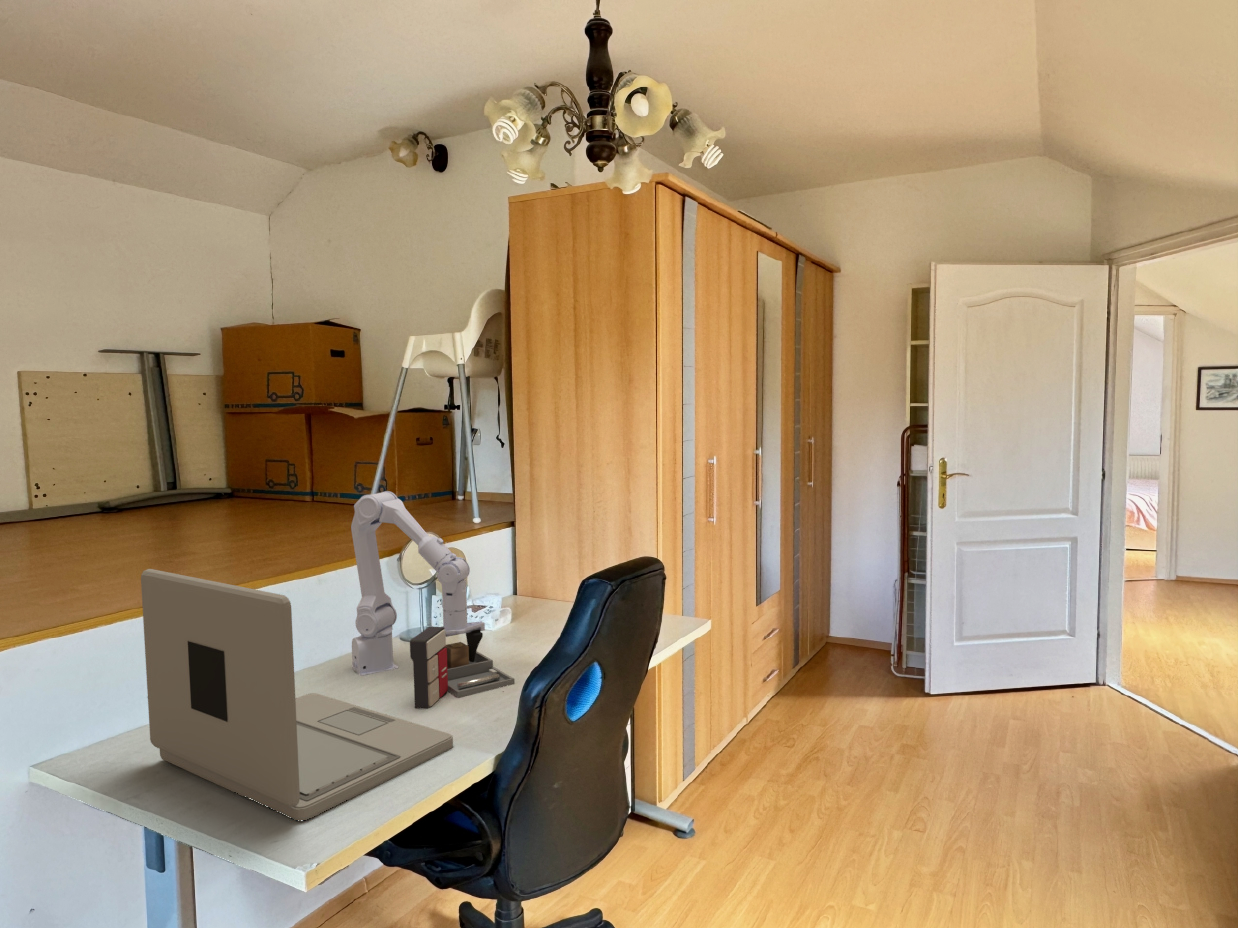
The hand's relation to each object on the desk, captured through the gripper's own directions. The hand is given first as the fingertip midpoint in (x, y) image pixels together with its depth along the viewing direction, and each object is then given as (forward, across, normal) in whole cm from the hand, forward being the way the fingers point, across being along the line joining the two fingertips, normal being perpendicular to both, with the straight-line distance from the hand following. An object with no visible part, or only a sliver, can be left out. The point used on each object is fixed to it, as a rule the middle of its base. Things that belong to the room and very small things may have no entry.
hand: (456, 664), depth 191 cm
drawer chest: (+2, -12, -14) cm, 19 cm away
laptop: (+2, -42, -26) cm, 49 cm away
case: (+2, 0, 0) cm, 2 cm away
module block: (+1, 0, 0) cm, 1 cm away
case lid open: (+2, 0, -11) cm, 11 cm away
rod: (+1, 0, -12) cm, 12 cm away
